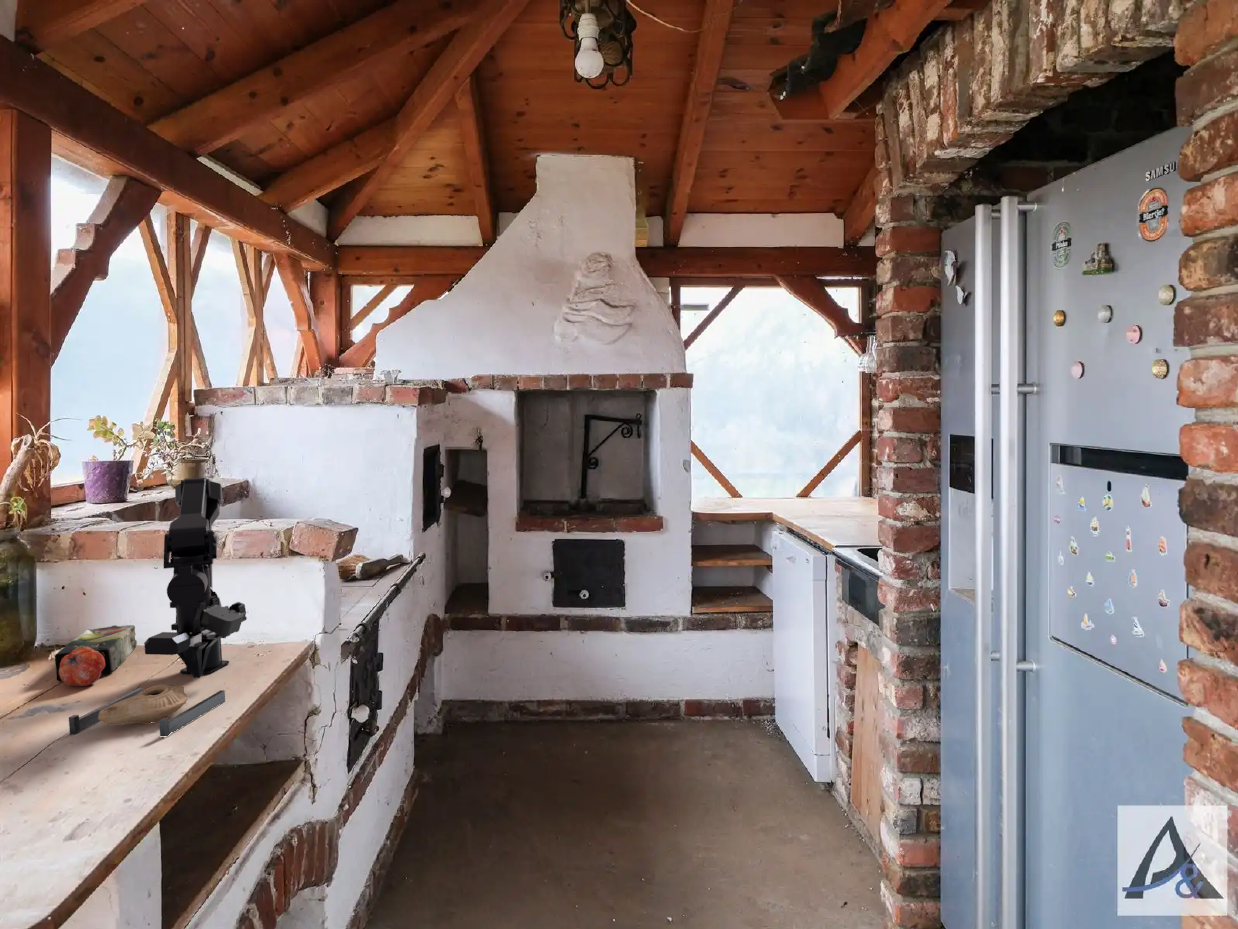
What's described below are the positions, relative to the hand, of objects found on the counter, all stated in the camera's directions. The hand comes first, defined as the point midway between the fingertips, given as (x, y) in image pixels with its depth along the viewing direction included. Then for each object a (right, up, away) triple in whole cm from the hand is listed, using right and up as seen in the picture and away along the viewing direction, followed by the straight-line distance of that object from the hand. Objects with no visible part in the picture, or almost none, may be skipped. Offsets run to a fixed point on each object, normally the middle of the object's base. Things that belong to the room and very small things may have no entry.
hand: (198, 677), depth 141 cm
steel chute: (-1, -4, -12) cm, 12 cm away
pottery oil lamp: (-2, -4, -13) cm, 14 cm away
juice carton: (-30, -2, +17) cm, 34 cm away
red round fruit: (-25, -3, +5) cm, 25 cm away
